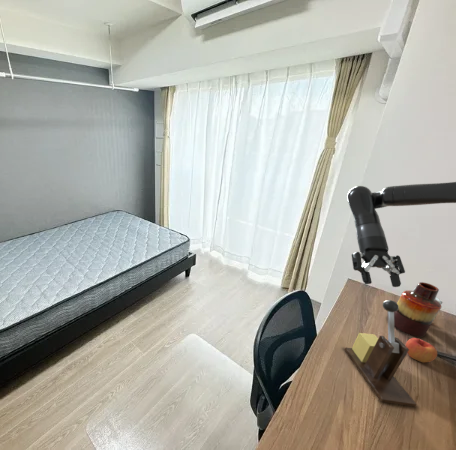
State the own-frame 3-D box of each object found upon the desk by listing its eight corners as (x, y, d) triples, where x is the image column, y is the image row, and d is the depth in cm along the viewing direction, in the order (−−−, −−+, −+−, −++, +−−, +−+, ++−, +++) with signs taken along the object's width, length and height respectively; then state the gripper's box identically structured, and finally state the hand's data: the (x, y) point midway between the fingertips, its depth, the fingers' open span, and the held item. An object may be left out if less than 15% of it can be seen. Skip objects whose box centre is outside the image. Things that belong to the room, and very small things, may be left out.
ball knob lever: (379, 298, 78) (389, 300, 74) (391, 299, 77) (401, 301, 74) (380, 348, 76) (390, 352, 72) (393, 350, 75) (403, 354, 72)
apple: (432, 371, 81) (444, 354, 78) (403, 359, 85) (413, 342, 82) (427, 356, 87) (438, 340, 84) (400, 345, 91) (409, 329, 88)
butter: (366, 350, 86) (374, 334, 83) (377, 364, 81) (386, 347, 78) (351, 348, 87) (359, 332, 84) (361, 362, 82) (370, 345, 79)
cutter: (344, 350, 88) (358, 318, 82) (370, 354, 87) (387, 322, 81) (380, 402, 71) (402, 367, 65) (414, 407, 70) (439, 372, 64)
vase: (427, 342, 93) (454, 299, 85) (389, 328, 98) (411, 287, 91) (421, 326, 101) (445, 285, 93) (386, 314, 106) (406, 274, 99)
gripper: (356, 233, 83) (367, 280, 76) (402, 236, 81) (417, 285, 75) (342, 240, 90) (351, 284, 83) (384, 244, 88) (396, 289, 82)
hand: (382, 285), depth 79 cm, fingers open, 8 cm apart
